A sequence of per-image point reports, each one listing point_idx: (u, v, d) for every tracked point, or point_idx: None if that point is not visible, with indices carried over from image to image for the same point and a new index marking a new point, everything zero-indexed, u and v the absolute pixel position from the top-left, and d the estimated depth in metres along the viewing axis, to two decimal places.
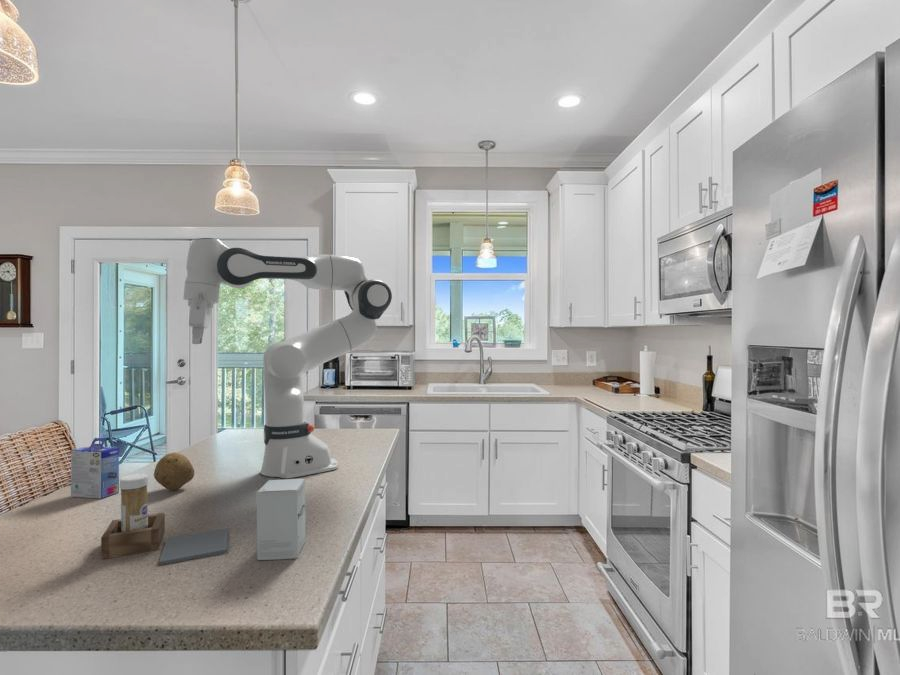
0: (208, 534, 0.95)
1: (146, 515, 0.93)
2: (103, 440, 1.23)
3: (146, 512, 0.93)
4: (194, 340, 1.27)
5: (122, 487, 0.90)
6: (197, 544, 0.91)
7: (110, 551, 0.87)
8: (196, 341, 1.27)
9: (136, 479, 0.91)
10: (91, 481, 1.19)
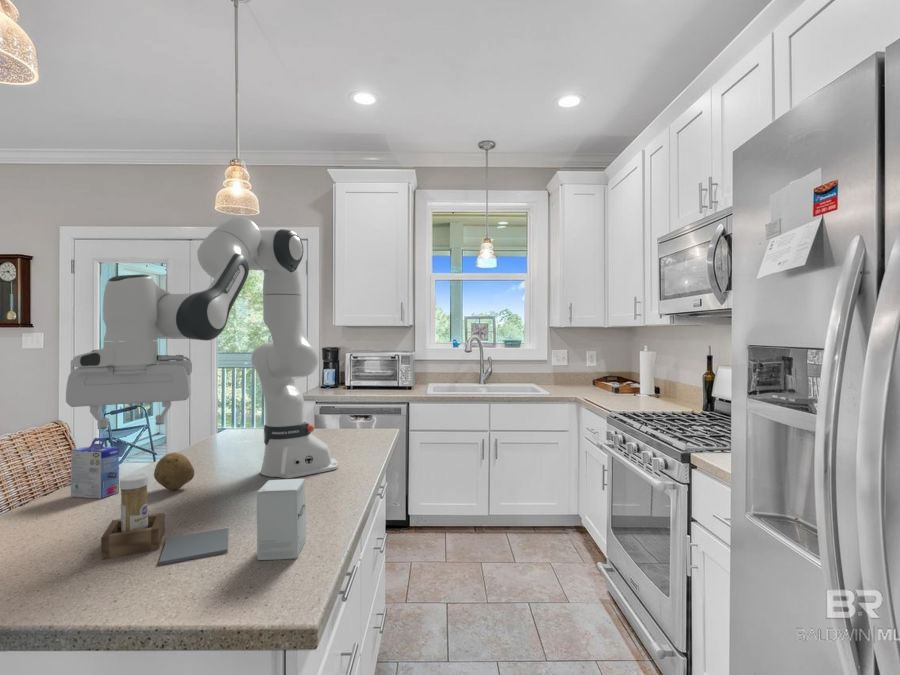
0: (208, 534, 0.95)
1: (146, 515, 0.93)
2: (103, 440, 1.23)
3: (146, 512, 0.93)
4: (164, 419, 0.94)
5: (122, 487, 0.90)
6: (197, 544, 0.91)
7: (110, 551, 0.87)
8: (164, 420, 0.95)
9: (136, 479, 0.91)
10: (91, 481, 1.19)
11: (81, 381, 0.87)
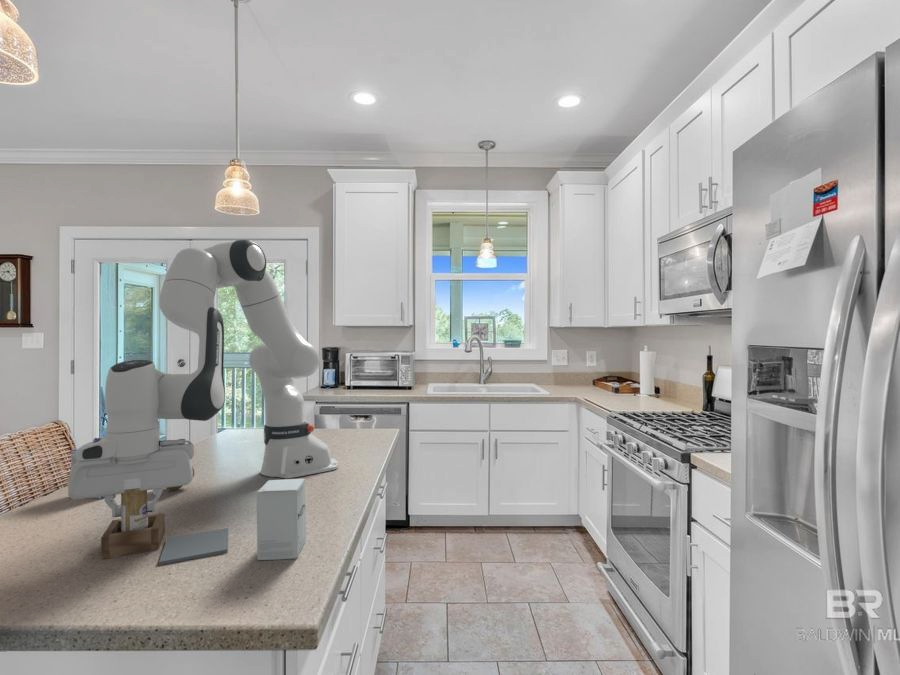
0: (208, 534, 0.95)
1: (146, 515, 0.93)
2: None
3: (146, 512, 0.93)
4: (155, 506, 0.93)
5: None
6: (197, 544, 0.91)
7: (110, 551, 0.87)
8: (156, 506, 0.94)
9: (136, 479, 0.91)
10: None
11: (83, 473, 0.87)
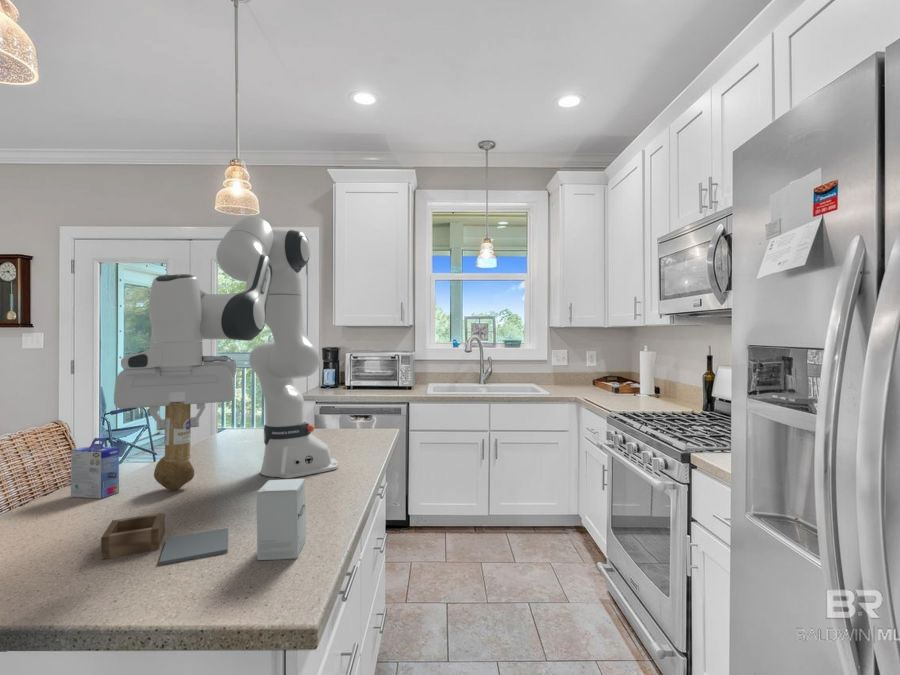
0: (208, 534, 0.95)
1: (189, 431, 0.91)
2: (103, 440, 1.23)
3: (189, 428, 0.91)
4: None
5: None
6: (197, 544, 0.91)
7: (110, 551, 0.87)
8: None
9: (181, 392, 0.90)
10: (91, 481, 1.19)
11: (129, 382, 0.86)
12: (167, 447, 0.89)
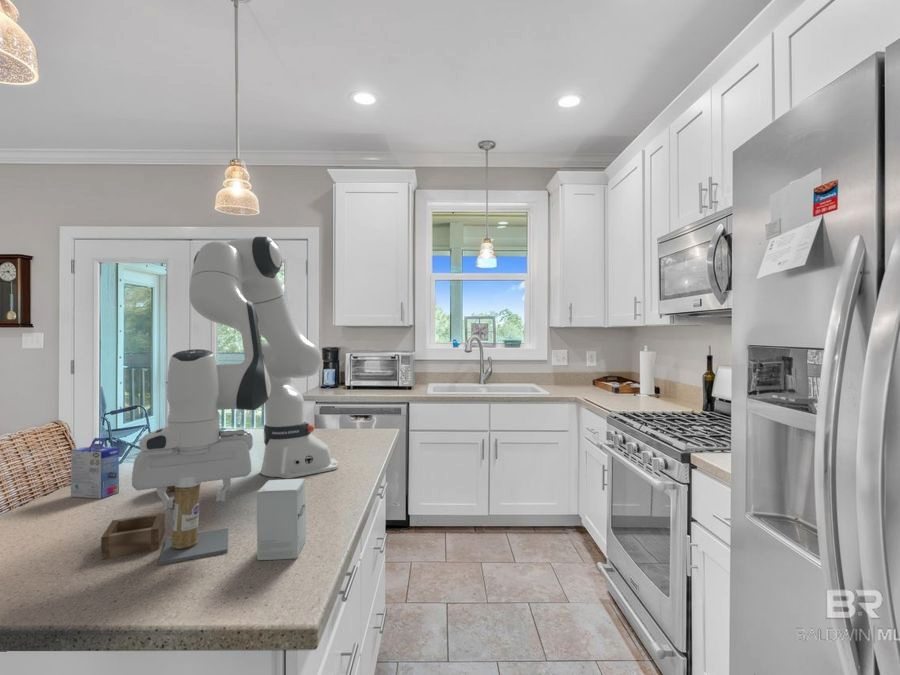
0: (208, 534, 0.95)
1: (197, 515, 0.91)
2: (103, 440, 1.23)
3: (197, 512, 0.91)
4: (224, 496, 0.93)
5: (176, 485, 0.88)
6: (197, 544, 0.91)
7: (110, 551, 0.87)
8: None
9: (191, 477, 0.89)
10: (91, 481, 1.19)
11: (147, 463, 0.86)
12: (175, 533, 0.88)
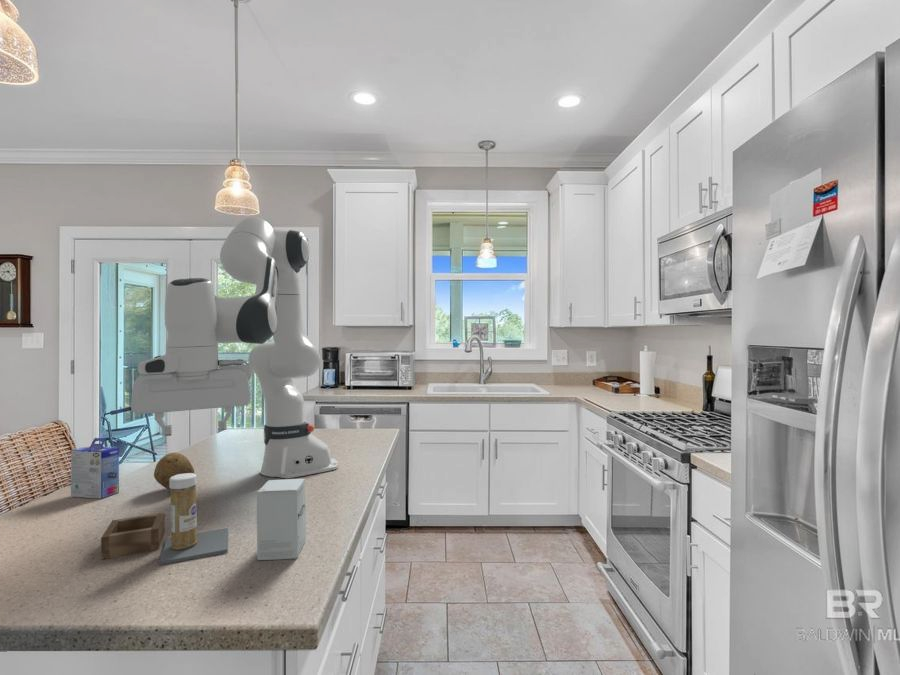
0: (208, 534, 0.95)
1: (195, 515, 0.90)
2: (103, 440, 1.23)
3: (195, 512, 0.90)
4: None
5: (172, 486, 0.88)
6: (197, 544, 0.91)
7: (110, 551, 0.87)
8: None
9: (185, 478, 0.89)
10: (91, 481, 1.19)
11: (146, 388, 0.86)
12: (173, 535, 0.88)
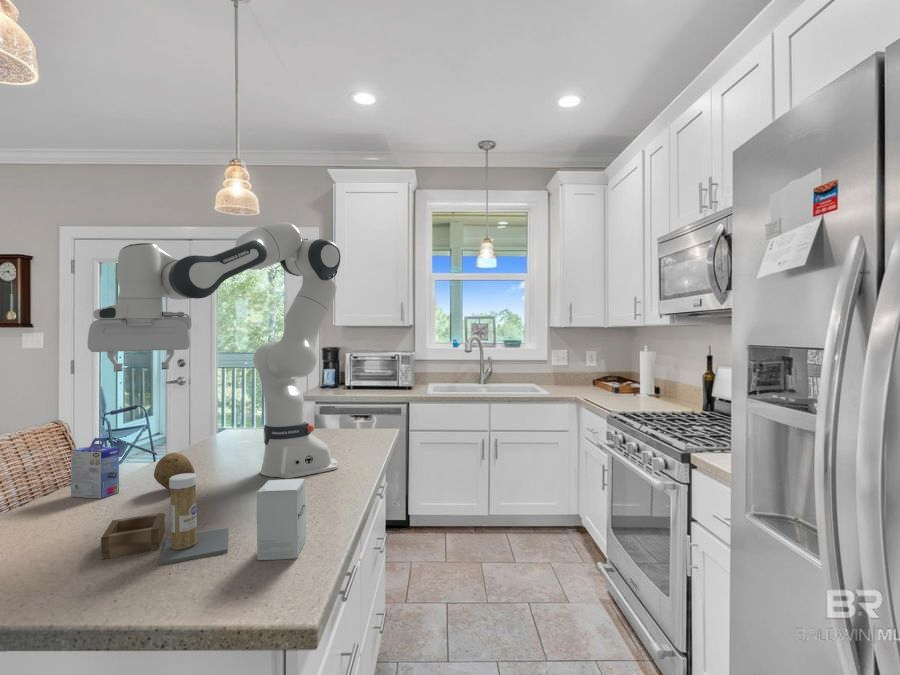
0: (208, 534, 0.95)
1: (195, 515, 0.90)
2: (103, 440, 1.23)
3: (195, 512, 0.90)
4: (168, 365, 1.13)
5: (171, 486, 0.88)
6: (197, 544, 0.91)
7: (110, 551, 0.87)
8: None
9: (185, 478, 0.89)
10: (91, 481, 1.19)
11: (100, 330, 1.06)
12: (173, 535, 0.88)
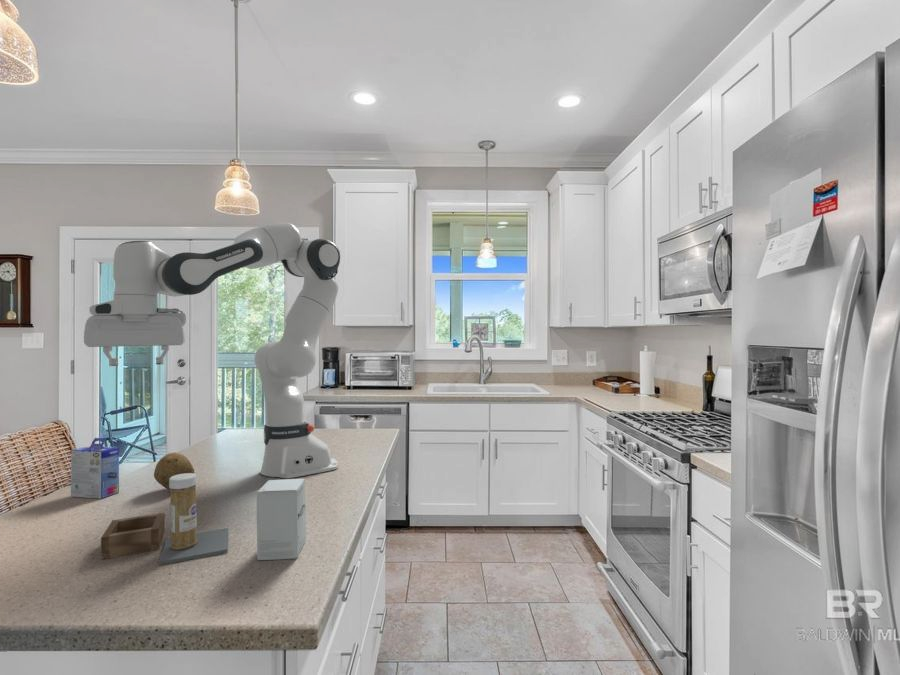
0: (208, 534, 0.95)
1: (195, 515, 0.90)
2: (103, 440, 1.23)
3: (195, 512, 0.90)
4: (163, 360, 1.15)
5: (171, 486, 0.88)
6: (197, 544, 0.91)
7: (110, 551, 0.87)
8: (163, 361, 1.16)
9: (185, 478, 0.89)
10: (91, 481, 1.19)
11: (96, 326, 1.09)
12: (173, 535, 0.88)
